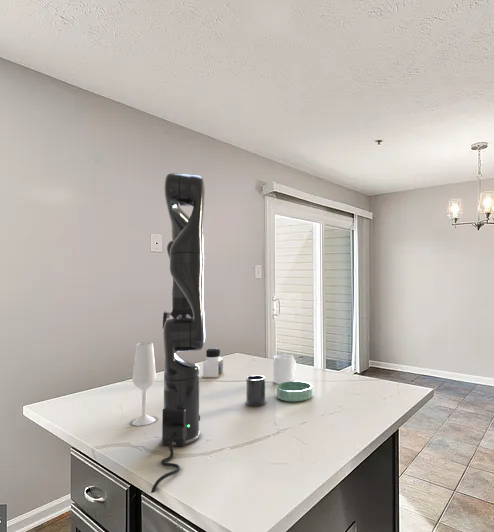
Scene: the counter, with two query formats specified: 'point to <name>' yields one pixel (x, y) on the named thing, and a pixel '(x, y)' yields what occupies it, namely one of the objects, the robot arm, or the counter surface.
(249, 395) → the cup
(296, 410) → the counter surface
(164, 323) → the robot arm
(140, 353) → the champagne flute
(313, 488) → the counter surface
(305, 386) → the bowl
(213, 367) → the medicine bottle
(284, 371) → the mug
